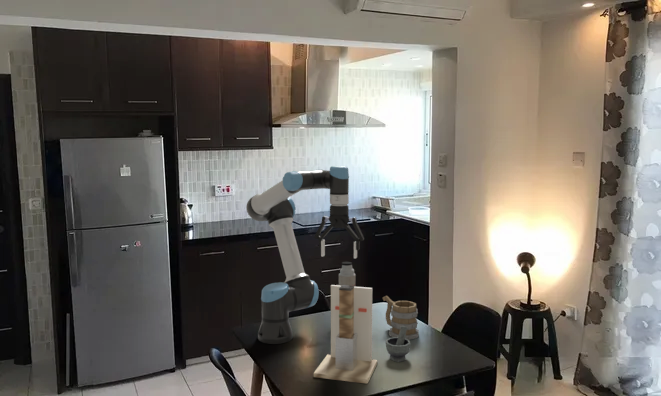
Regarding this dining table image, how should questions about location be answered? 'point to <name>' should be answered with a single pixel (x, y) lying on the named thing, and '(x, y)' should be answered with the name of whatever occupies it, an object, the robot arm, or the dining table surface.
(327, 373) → the birch base plate
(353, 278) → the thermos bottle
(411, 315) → the tankard
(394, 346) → the mortar and pestle
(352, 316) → the oak post
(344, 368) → the metal sleeve
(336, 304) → the board
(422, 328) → the dining table surface
